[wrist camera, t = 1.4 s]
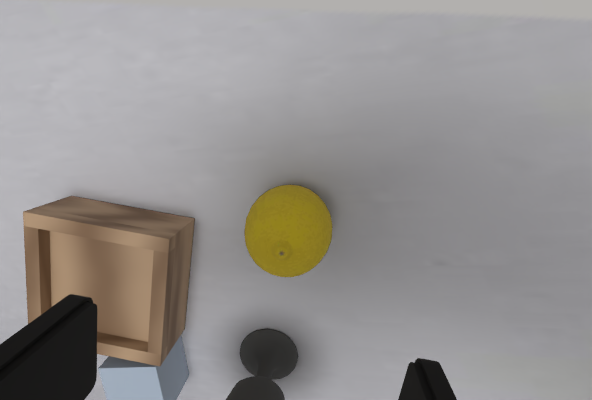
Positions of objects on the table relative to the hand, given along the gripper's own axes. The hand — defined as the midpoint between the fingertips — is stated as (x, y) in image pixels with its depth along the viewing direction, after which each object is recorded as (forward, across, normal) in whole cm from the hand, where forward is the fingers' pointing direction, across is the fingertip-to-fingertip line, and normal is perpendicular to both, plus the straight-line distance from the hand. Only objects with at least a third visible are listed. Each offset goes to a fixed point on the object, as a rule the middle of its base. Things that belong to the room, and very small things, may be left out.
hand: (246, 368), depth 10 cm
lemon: (+17, 0, 0) cm, 17 cm away
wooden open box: (+17, +12, +7) cm, 22 cm away
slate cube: (+17, +9, +15) cm, 24 cm away
